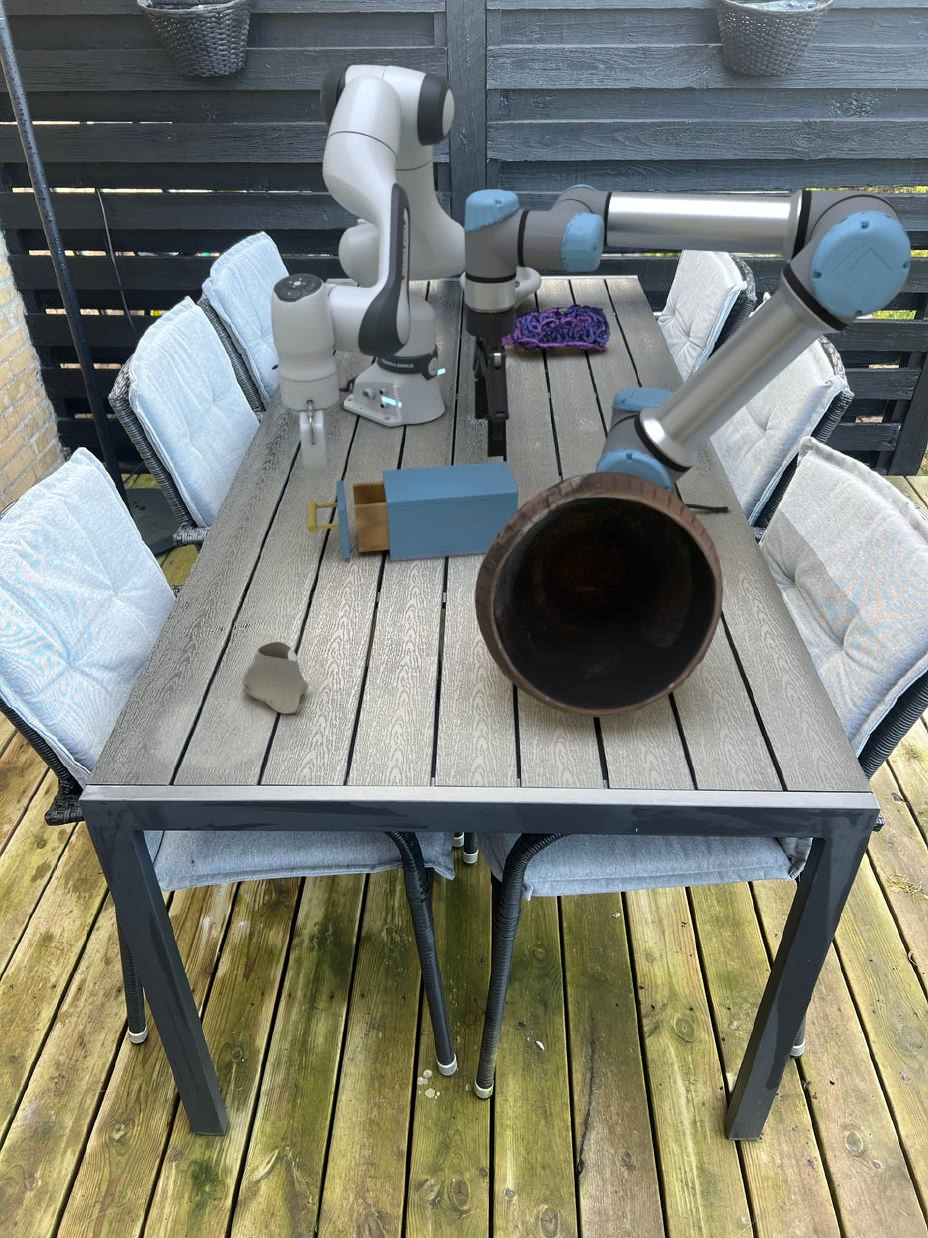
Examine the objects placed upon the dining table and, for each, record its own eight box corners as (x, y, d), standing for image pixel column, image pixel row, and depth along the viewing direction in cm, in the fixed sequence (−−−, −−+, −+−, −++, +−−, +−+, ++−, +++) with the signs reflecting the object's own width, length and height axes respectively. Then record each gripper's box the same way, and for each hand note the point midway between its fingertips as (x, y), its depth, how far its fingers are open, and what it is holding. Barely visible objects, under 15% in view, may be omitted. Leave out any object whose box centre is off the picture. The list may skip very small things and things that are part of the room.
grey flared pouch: (308, 702, 131) (315, 635, 129) (297, 722, 124) (304, 652, 121) (246, 693, 131) (251, 626, 129) (231, 713, 124) (236, 642, 121)
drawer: (311, 560, 155) (305, 512, 149) (311, 530, 162) (305, 483, 156) (462, 548, 157) (462, 499, 151) (455, 518, 165) (454, 471, 159)
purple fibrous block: (616, 330, 219) (490, 333, 216) (609, 367, 227) (487, 369, 225) (606, 296, 227) (484, 298, 224) (599, 332, 235) (482, 335, 233)
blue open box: (390, 561, 156) (386, 502, 149) (386, 527, 164) (382, 470, 158) (516, 550, 158) (518, 492, 151) (505, 517, 167) (507, 461, 160)
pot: (520, 423, 138) (555, 432, 109) (702, 511, 144) (783, 542, 115) (430, 616, 144) (441, 674, 115) (608, 693, 150) (662, 767, 121)
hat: (455, 295, 261) (454, 240, 252) (532, 292, 263) (534, 237, 254) (465, 327, 242) (464, 268, 233) (548, 323, 244) (550, 264, 235)
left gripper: (332, 416, 134) (340, 500, 142) (329, 361, 150) (337, 440, 158) (287, 419, 133) (299, 503, 141) (289, 364, 149) (299, 442, 157)
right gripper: (531, 333, 128) (526, 471, 141) (501, 277, 148) (499, 402, 161) (477, 337, 127) (477, 474, 140) (454, 279, 147) (456, 405, 160)
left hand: (319, 469), depth 150 cm, fingers closed
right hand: (489, 436), depth 150 cm, fingers open, 13 cm apart
